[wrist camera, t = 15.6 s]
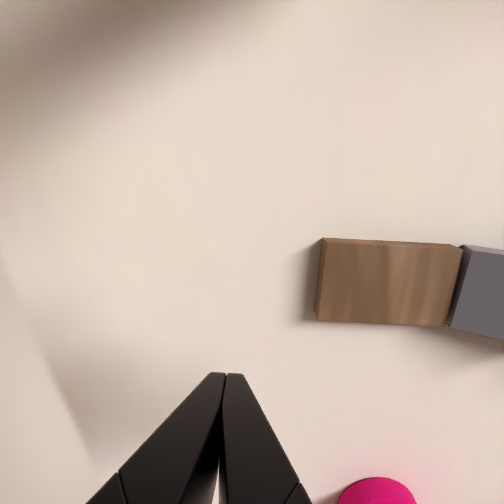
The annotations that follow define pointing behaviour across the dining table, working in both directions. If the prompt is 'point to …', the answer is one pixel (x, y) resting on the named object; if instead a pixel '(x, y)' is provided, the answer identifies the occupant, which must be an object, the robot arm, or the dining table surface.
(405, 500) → the pepper mill
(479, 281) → the domino
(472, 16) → the dining table surface
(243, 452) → the robot arm
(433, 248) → the domino
